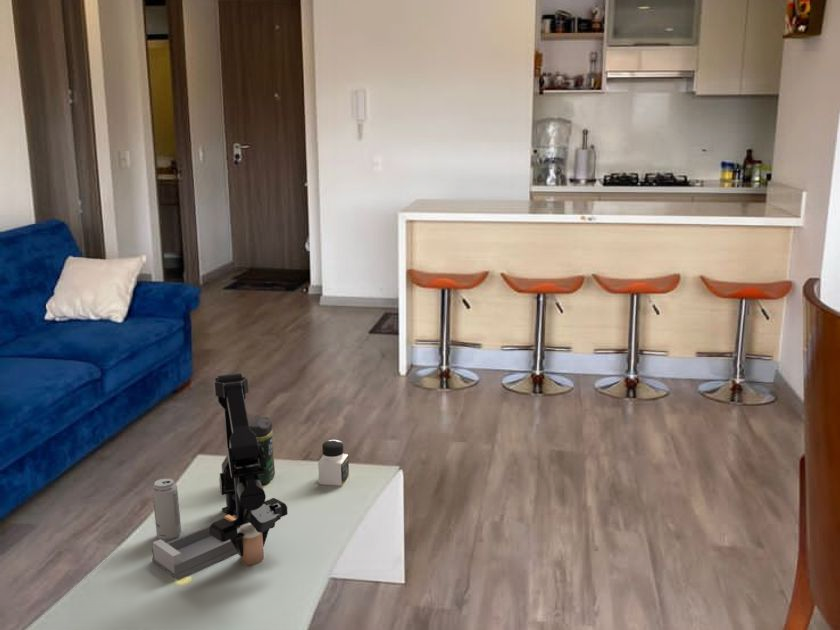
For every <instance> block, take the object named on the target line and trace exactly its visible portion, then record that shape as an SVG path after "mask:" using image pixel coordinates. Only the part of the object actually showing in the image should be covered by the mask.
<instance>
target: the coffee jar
mask: <svg viewBox="0 0 840 630" xmlns="http://www.w3.org/2000/svg"><path fill="white" fill-rule="evenodd" d="M248 422H249V427H250V430H251V431H252V432H254V433H255V434H256V437H257V441H258V444H261V445H262V448H263V449H264V454H265V460H266V467H264V469H265V473H264V474H259V480H260V482H261V484H262V485H264V484H269V483H270V482H271V481H272V480H273V478H274V476H275V474H276V469H275V467H276V466H275V457H274V456H275V455H274V442H273V440H274V439H273V436H274V435H273V433H274V432H273V429H274V428H273V421H272V420H271V419H270V418H269V417H267V416H254V417H253V418H251V419H248ZM258 460H259V459H258ZM253 466H260V468H261V465H260V460H259V462H258V464H254V465H253Z"/></svg>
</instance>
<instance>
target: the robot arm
mask: <svg viewBox="0 0 840 630" xmlns="http://www.w3.org/2000/svg"><path fill="white" fill-rule="evenodd" d="M248 380H249V379H248V377H247V376H243V375H242V373H241V372H237V373H229V374H221V375H220V374H219V375H218V374H217V376H216V377H215V379H214V380H212V386H213V387H212V388H213V394H214V396H215V397H216V398H217V400H218V403H219V405H220V406H221V407H222V409H223V419H224V433H225V434H224V435H225V436H224V437H225V447H226V457H225V458H224V460H223V461H222V463H221V472H220V473H219V479H218V480H219V481H218V482H219V489H220V493H221V495H222V496H224V495H225V501H226V503H225V504H226V506H225V507H222V508H221V511H222V512H224V513H225V514H227V513H228V514H227V515H231V516H233V515H235V516H237V519H236V520H233V521H231V522H230V521H228V520H227V519H225V517H223V518H221V519H218V520H216V521H213V522H211V523H210V524H209V525H210V527H209V531H210V535H212V536H214V537H215V538H217V539H218V540H220V541H222V542H224V541H227V540H231V542H232V543H233V545H234V547H235V549H236V550H237V552H238V553H237V554H238V555H239V557H240V556H241V557H242V556H243V543H242V538H243V536H244V534H243V533H241V531H240V528H241V526H244V525H246V524H249V523H251V524H252V525H253V527H254V528H255V529H256V531H257V532H259V533H262V535H263V548H264V546H265V544H266V541H267V538H268V534H269V531H270V529H274V528H275V525H276V523H277V522H279V520H281V519H282V518H283V517H284V516H287V515H288V512H289V510H288V506H287V504H286V503H285V502H283V501H281V500H279V499H278V498H276V497H272V498H269V499H267V500H266V493H265V490H264V487H263V484H261V482H260V480H259V474H264V473H265V469H264V467H266V460H265V454H264V449H263V448H262V445H261V444H258V441H257V437H256V434H255V433H254V432H252V431H251V430H250V427H249V422H248V421H249V418H248V413H247V412H248V411H247V407H246V402H245V400H246V394H248V393H250V392H249V381H248ZM258 459H259V460H260V465H261V468H260V466H253V465H254V464H258V462H259V460H258Z"/></svg>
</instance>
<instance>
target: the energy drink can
mask: <svg viewBox="0 0 840 630" xmlns="http://www.w3.org/2000/svg"><path fill="white" fill-rule="evenodd" d="M153 484H154V486H153V487H152V499H153V500H152V502H153V508H154V509H153V510H154V521H155V522H154V523H155V530H156V531H155V532H156V536H157V537H158V539H159V540H160V539H161V540H162V541H164V542H170V541H172V540H175V539H177V538H179V536H180V534H181V533H182V525H181V524H182V523H181V514H180V513H181V511H180V502H179V491H178V485H177V484H176V482H175V479H174V478H171V477H164V478H159V479H157V480H155V482H154V483H153Z"/></svg>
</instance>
